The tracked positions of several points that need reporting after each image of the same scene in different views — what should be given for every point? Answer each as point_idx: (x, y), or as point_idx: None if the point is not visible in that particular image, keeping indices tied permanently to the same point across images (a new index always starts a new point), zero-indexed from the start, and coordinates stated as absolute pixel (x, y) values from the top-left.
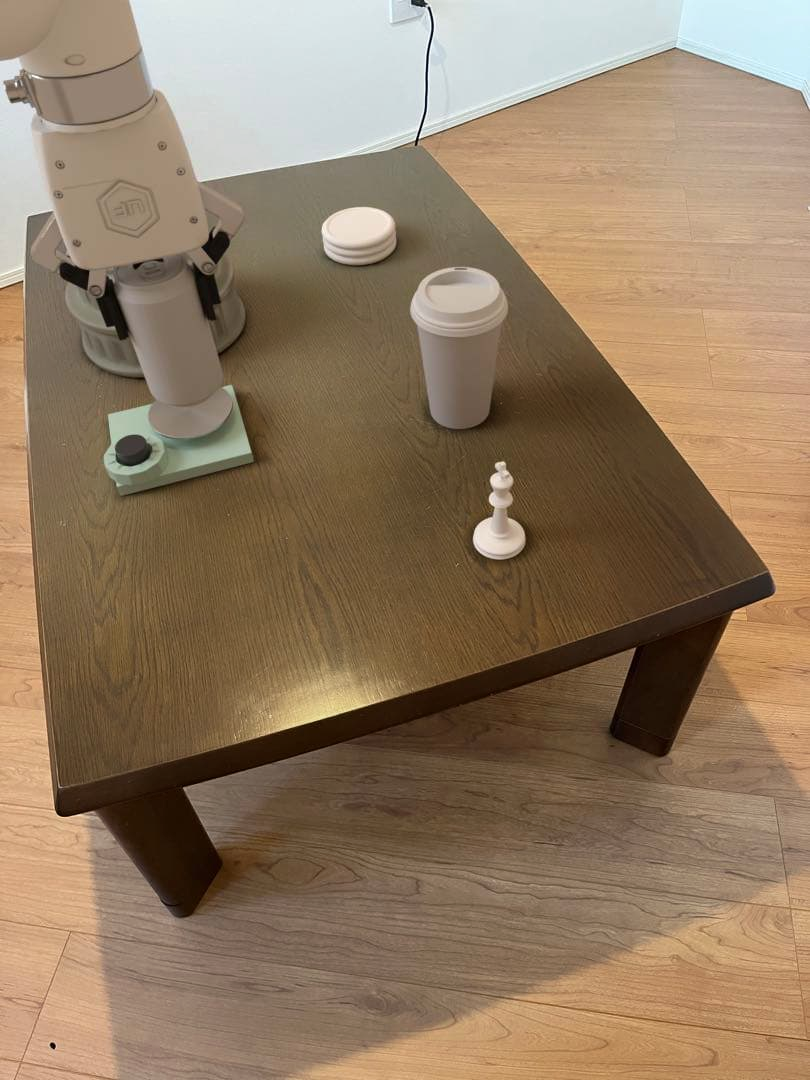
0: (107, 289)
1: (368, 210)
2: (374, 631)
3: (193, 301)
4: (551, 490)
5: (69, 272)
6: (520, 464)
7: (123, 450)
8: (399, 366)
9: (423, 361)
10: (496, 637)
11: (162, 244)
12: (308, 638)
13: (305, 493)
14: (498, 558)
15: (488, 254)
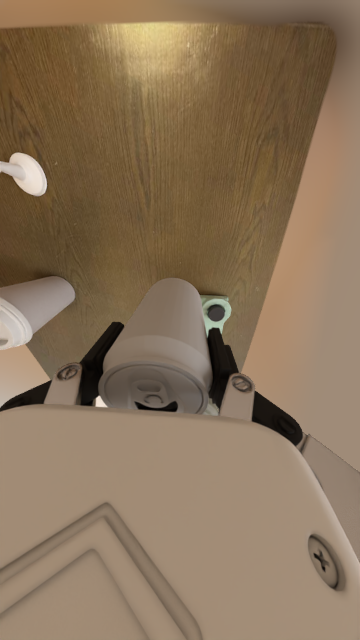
0: (222, 382)
1: (96, 404)
2: (109, 116)
3: (118, 336)
4: (3, 208)
5: (286, 428)
6: (24, 238)
7: (220, 312)
8: (90, 327)
9: (51, 306)
10: (23, 63)
11: (64, 445)
12: (152, 130)
13: (140, 262)
14: (28, 155)
15: (52, 372)
